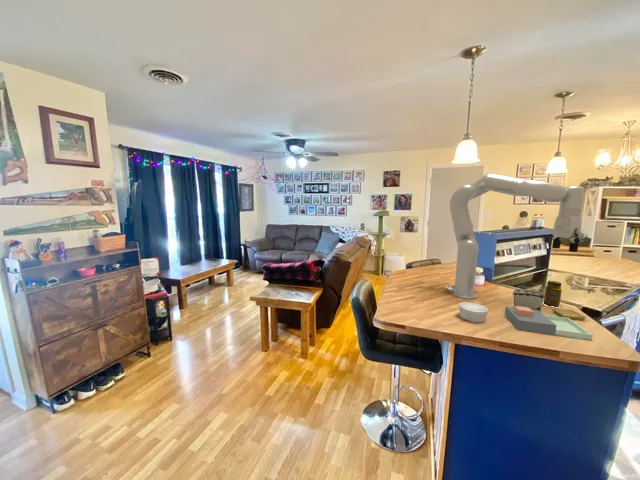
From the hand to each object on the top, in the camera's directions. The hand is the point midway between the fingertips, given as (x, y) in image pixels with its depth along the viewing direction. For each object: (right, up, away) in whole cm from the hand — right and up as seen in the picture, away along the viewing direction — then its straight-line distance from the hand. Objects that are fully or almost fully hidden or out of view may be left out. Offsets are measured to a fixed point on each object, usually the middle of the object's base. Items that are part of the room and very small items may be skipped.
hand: (564, 249), depth 125 cm
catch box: (-17, -31, -18) cm, 40 cm away
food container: (-19, -29, 0) cm, 35 cm away
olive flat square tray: (-3, -30, -5) cm, 31 cm away
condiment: (+1, -28, +8) cm, 30 cm away
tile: (-30, -26, -14) cm, 42 cm away
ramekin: (-49, -30, -9) cm, 58 cm away
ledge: (-28, -30, -14) cm, 44 cm away
